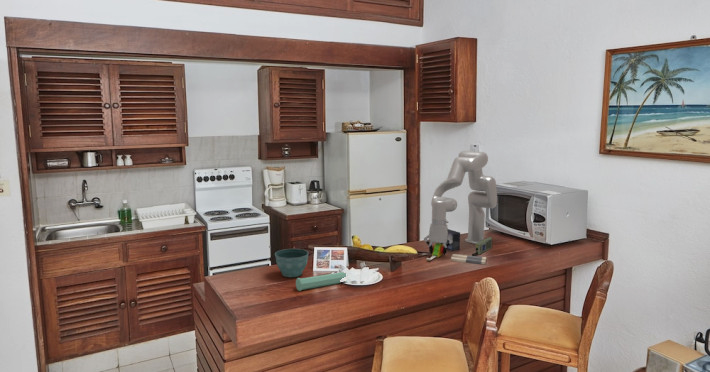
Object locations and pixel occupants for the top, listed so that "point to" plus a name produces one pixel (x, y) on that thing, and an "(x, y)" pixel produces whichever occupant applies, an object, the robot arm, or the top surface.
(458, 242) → the small box
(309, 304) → the top surface
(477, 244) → the handheld radio
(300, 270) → the flower pot
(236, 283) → the top surface
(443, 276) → the top surface
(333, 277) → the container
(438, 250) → the toy measuring tape
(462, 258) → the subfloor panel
